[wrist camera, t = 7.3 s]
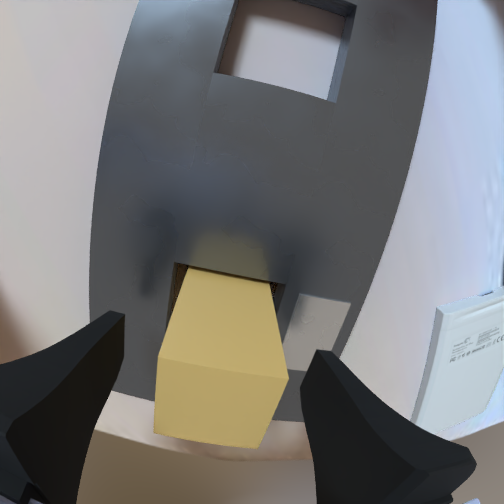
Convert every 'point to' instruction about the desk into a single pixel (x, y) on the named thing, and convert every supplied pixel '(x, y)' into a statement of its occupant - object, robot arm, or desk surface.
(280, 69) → the desk surface
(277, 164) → the port block
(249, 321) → the plug
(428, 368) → the external hard drive
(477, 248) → the desk surface
